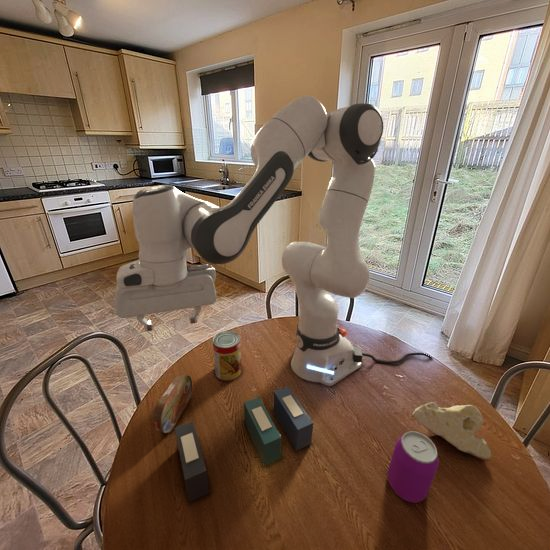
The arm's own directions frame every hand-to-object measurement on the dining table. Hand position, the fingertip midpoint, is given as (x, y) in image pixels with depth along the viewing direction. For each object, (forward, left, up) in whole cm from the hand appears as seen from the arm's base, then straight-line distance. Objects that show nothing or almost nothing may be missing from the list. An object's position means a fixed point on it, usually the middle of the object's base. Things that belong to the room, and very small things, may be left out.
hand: (171, 325), depth 65 cm
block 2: (-15, +16, -26) cm, 34 cm away
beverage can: (-38, +38, -26) cm, 60 cm away
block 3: (-23, +16, -26) cm, 38 cm away
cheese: (-54, +35, -26) cm, 69 cm away
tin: (+2, 0, -26) cm, 26 cm away
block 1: (+1, +16, -26) cm, 31 cm away
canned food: (-15, -9, -26) cm, 31 cm away
